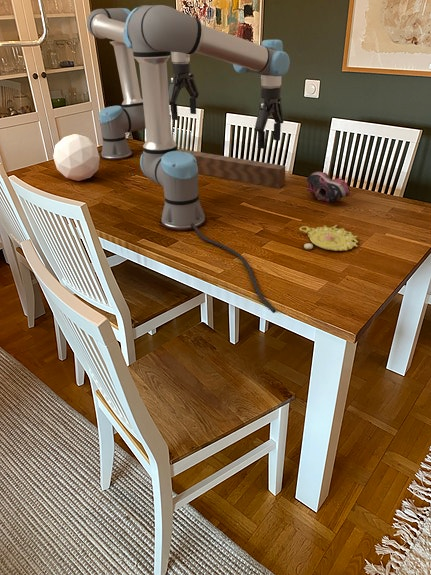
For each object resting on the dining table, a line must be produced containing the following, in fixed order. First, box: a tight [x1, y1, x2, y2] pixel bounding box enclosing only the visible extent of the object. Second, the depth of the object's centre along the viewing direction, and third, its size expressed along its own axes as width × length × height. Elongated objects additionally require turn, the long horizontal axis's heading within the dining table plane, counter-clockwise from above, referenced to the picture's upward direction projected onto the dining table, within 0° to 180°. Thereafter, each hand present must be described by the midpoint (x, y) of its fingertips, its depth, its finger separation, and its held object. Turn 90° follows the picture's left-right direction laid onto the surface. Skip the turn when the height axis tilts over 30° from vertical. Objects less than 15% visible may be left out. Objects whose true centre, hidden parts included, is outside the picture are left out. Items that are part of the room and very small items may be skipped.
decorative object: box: [299, 224, 359, 252], centre depth 141 cm, size 21×2×20 cm
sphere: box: [52, 133, 101, 182], centre depth 194 cm, size 19×20×20 cm
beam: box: [177, 148, 286, 189], centre depth 195 cm, size 54×5×8 cm, turn 57°
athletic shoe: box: [304, 171, 351, 203], centre depth 169 cm, size 11×22×12 cm
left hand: (184, 116), depth 194 cm, fingers open, 13 cm apart
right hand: (269, 144), depth 178 cm, fingers open, 13 cm apart
